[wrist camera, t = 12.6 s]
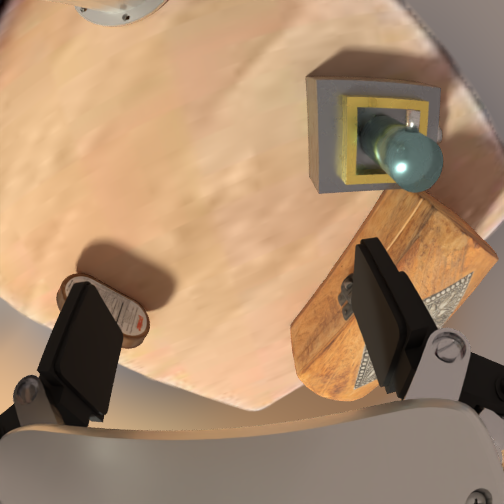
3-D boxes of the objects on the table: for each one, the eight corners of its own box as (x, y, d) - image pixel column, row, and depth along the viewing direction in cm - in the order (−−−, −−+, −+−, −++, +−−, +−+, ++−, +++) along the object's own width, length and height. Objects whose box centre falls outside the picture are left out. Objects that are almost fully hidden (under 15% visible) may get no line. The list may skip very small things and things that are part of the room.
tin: (67, 274, 44) (47, 311, 37) (73, 261, 43) (51, 299, 36) (148, 318, 50) (138, 359, 43) (156, 307, 48) (147, 349, 42)
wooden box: (390, 165, 37) (448, 218, 25) (462, 216, 41) (513, 271, 30) (279, 323, 52) (288, 396, 40) (355, 344, 56) (374, 406, 45)
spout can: (361, 97, 27) (396, 112, 21) (405, 100, 27) (448, 117, 21) (359, 161, 31) (390, 193, 24) (401, 160, 31) (438, 192, 24)
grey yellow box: (305, 76, 30) (320, 81, 25) (428, 83, 30) (459, 92, 25) (309, 176, 37) (322, 199, 32) (422, 172, 37) (447, 193, 32)
